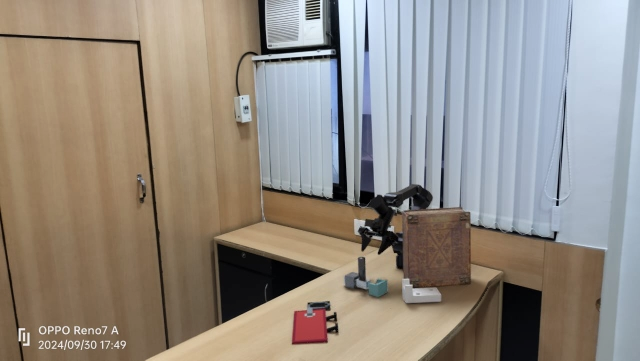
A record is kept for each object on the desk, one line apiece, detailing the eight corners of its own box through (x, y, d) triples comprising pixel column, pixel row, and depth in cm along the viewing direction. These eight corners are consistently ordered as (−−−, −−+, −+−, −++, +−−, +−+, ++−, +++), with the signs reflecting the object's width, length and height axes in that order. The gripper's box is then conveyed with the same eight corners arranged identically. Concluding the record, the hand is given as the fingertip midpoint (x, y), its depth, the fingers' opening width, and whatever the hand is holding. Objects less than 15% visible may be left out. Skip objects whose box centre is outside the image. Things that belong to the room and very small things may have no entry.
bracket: (405, 305, 173) (405, 285, 172) (402, 297, 180) (402, 279, 179) (441, 303, 173) (441, 284, 172) (436, 296, 180) (436, 277, 179)
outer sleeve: (345, 287, 193) (344, 275, 192) (352, 283, 197) (352, 271, 196) (353, 289, 190) (353, 277, 189) (361, 285, 194) (360, 274, 193)
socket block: (368, 294, 184) (368, 282, 183) (378, 289, 189) (378, 277, 188) (378, 297, 181) (378, 284, 180) (387, 292, 186) (387, 279, 185)
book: (462, 276, 199) (462, 206, 194) (470, 284, 190) (471, 211, 185) (403, 280, 197) (401, 210, 193) (408, 288, 188) (407, 215, 184)
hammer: (343, 283, 195) (342, 255, 193) (348, 281, 197) (347, 253, 195) (366, 289, 187) (365, 260, 185) (370, 287, 189) (369, 258, 187)
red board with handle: (334, 302, 178) (295, 305, 178) (334, 295, 178) (294, 298, 178) (339, 343, 149) (292, 346, 149) (339, 334, 148) (291, 338, 148)
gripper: (357, 208, 202) (342, 241, 197) (390, 212, 188) (375, 247, 183) (372, 221, 208) (358, 253, 203) (405, 225, 194) (391, 259, 189)
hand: (370, 252), depth 194 cm, fingers open, 9 cm apart
